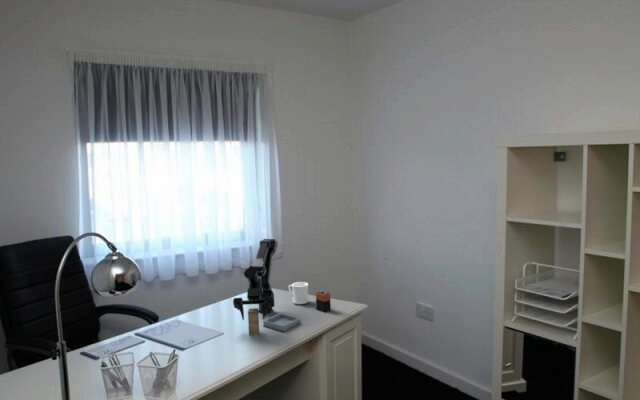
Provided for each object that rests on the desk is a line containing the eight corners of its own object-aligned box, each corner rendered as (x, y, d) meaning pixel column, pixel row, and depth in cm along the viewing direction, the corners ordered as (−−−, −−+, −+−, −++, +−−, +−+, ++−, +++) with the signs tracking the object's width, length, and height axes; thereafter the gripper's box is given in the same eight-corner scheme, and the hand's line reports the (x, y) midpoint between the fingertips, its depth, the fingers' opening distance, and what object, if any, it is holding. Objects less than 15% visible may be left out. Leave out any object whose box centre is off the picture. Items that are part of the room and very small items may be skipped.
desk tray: (263, 326, 223) (263, 321, 222) (280, 317, 233) (280, 313, 232) (283, 331, 215) (283, 326, 215) (300, 323, 225) (300, 318, 225)
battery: (321, 307, 247) (321, 288, 245) (331, 310, 242) (330, 291, 241) (315, 309, 244) (315, 290, 242) (325, 312, 239) (324, 293, 238)
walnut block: (250, 331, 216) (249, 308, 215) (259, 331, 216) (258, 308, 215) (249, 335, 212) (248, 311, 211) (258, 334, 212) (257, 311, 211)
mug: (309, 300, 259) (309, 281, 257) (307, 305, 250) (307, 286, 249) (290, 299, 260) (289, 281, 259) (287, 305, 251) (286, 286, 250)
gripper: (232, 281, 215) (230, 312, 206) (273, 279, 216) (272, 311, 206) (235, 292, 224) (233, 323, 214) (274, 291, 225) (274, 321, 215)
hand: (253, 319), depth 212 cm, fingers open, 9 cm apart
